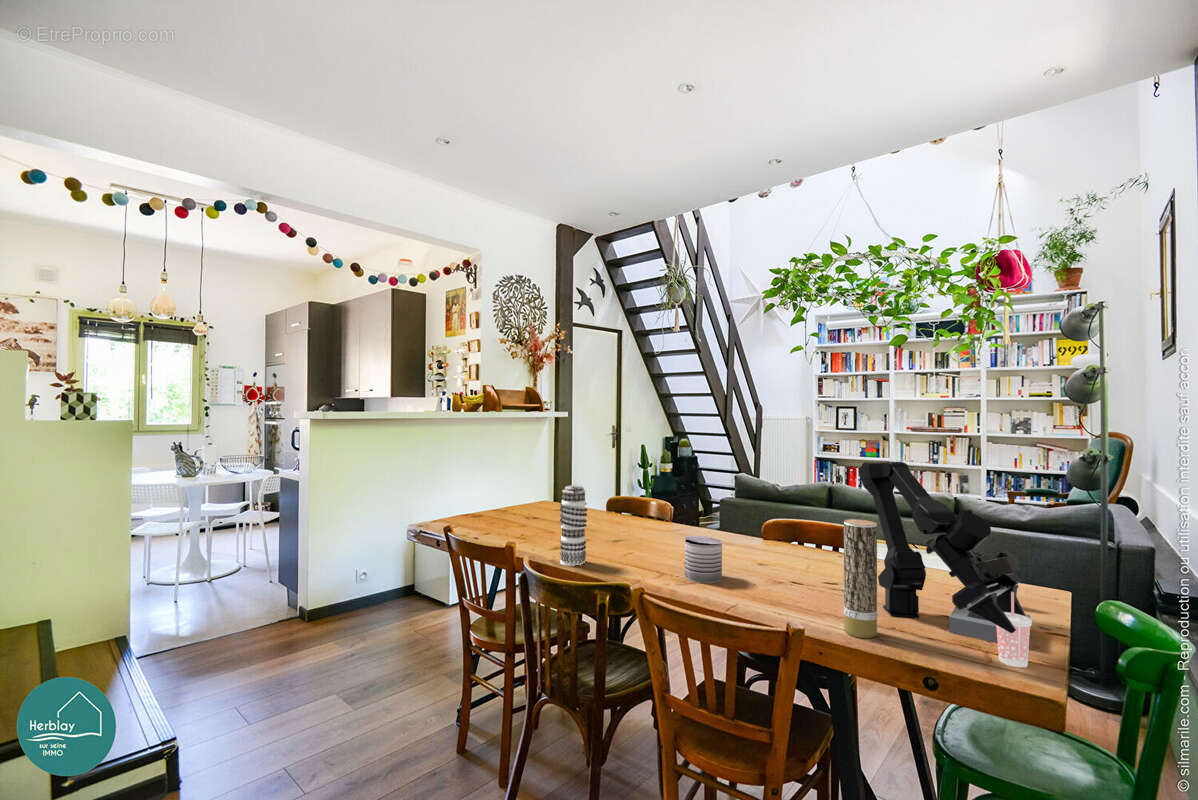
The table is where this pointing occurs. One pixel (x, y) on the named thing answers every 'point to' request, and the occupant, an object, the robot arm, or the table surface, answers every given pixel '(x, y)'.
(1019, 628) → the beverage cup
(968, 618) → the hole block
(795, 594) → the table surface
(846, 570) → the paper tube
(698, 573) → the can
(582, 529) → the decorative candle
